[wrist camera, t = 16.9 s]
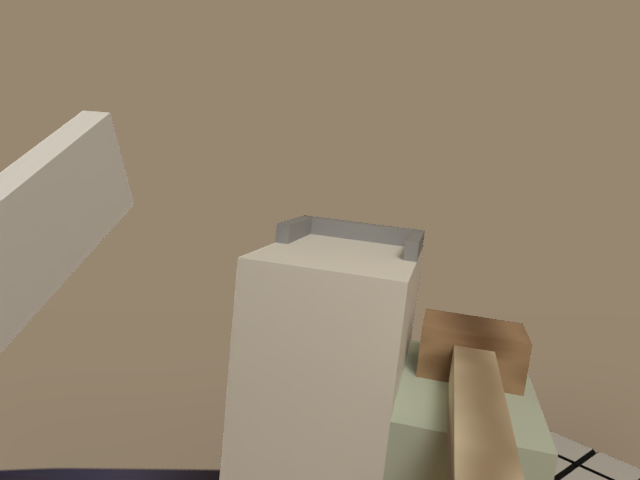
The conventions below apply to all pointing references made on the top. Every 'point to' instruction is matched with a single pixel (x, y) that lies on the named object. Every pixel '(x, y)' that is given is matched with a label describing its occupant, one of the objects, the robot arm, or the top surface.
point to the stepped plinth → (343, 364)
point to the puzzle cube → (588, 463)
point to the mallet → (477, 389)
